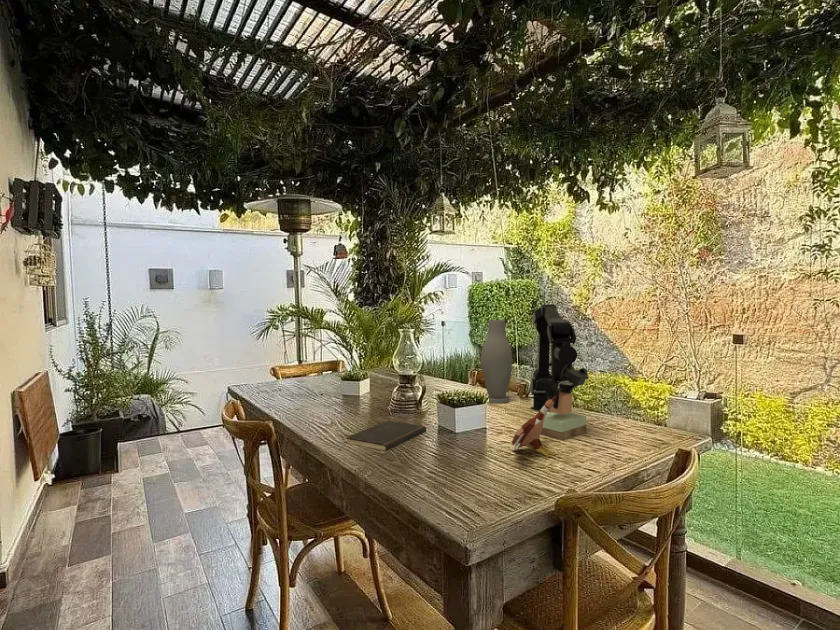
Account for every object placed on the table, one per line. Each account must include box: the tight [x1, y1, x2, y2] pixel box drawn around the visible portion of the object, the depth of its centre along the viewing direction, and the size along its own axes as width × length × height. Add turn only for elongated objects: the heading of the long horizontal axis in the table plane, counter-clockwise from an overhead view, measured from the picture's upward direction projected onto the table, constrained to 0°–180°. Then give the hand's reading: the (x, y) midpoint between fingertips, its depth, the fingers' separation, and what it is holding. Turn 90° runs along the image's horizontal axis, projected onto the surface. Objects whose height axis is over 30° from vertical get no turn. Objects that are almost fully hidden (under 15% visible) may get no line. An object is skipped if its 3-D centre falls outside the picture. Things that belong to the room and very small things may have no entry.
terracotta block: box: [549, 392, 573, 414], centre depth 153 cm, size 5×5×6 cm
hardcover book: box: [344, 420, 427, 452], centre depth 153 cm, size 16×23×2 cm
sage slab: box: [543, 412, 587, 432], centre depth 153 cm, size 13×10×3 cm
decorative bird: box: [511, 396, 557, 458], centre depth 133 cm, size 28×18×15 cm, turn 151°
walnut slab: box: [540, 424, 587, 441], centre depth 153 cm, size 13×10×3 cm
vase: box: [480, 319, 513, 404], centre depth 201 cm, size 13×13×35 cm
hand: (560, 407), depth 153 cm, fingers closed on terracotta block, 5 cm apart
